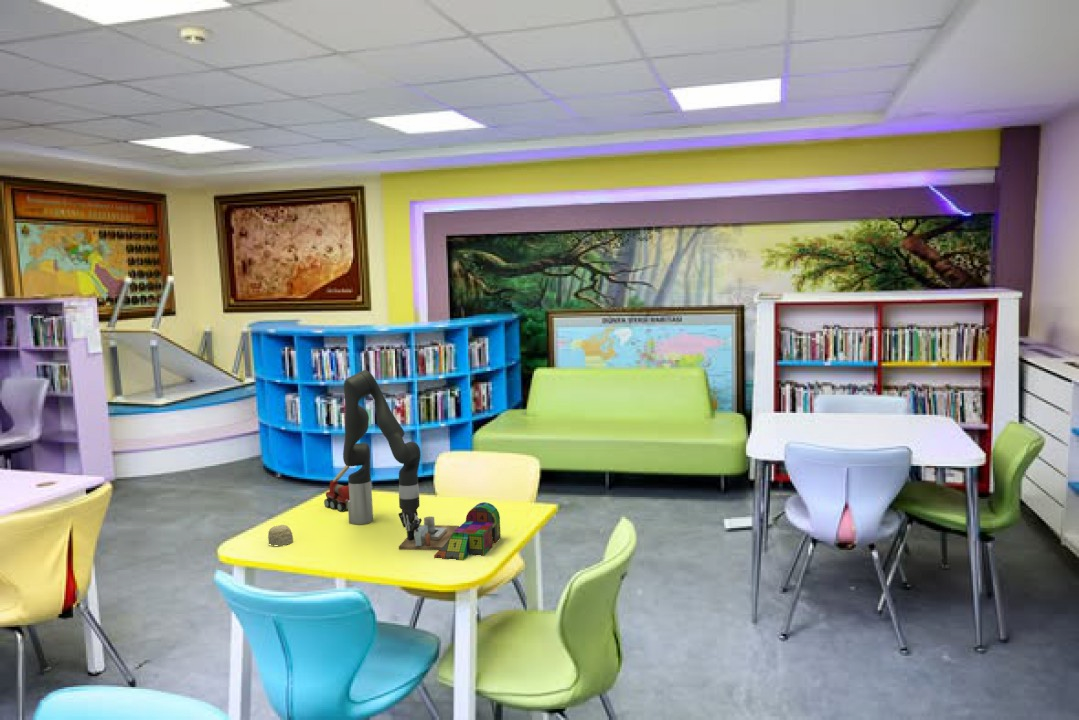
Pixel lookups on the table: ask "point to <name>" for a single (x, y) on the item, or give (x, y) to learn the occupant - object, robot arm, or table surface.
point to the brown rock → (280, 535)
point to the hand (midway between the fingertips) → (410, 539)
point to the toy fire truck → (338, 493)
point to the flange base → (432, 542)
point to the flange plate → (423, 529)
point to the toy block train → (473, 534)
